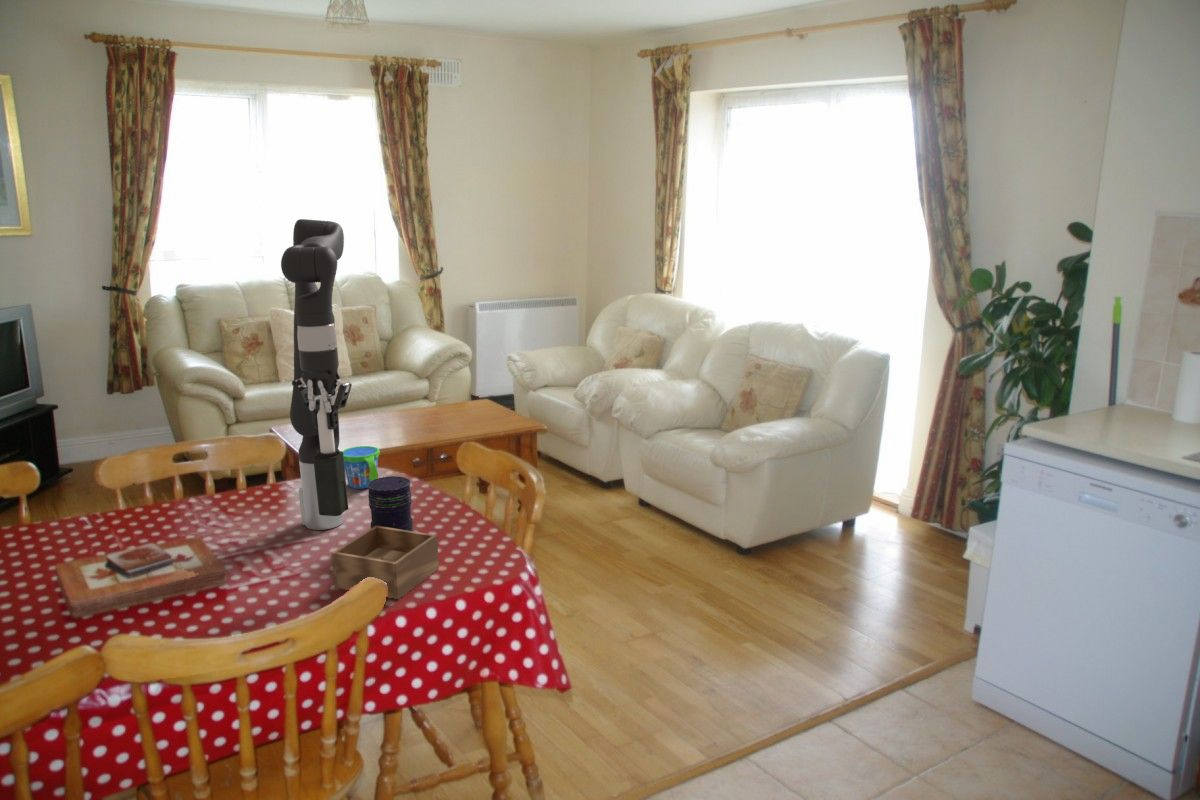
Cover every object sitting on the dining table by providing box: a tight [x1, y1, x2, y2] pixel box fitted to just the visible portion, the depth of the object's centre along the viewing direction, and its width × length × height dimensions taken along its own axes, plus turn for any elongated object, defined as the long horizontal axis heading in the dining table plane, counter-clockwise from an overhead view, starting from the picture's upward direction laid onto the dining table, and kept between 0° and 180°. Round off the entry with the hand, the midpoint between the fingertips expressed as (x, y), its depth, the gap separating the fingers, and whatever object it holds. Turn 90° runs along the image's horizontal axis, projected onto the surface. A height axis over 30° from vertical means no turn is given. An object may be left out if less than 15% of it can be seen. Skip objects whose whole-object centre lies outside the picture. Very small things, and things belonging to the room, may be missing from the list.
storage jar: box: [367, 475, 415, 532], centre depth 213 cm, size 10×10×15 cm
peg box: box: [331, 526, 440, 601], centre depth 195 cm, size 16×16×8 cm
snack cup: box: [342, 445, 381, 490], centre depth 252 cm, size 16×10×10 cm
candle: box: [313, 398, 349, 516], centre depth 188 cm, size 5×5×25 cm
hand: (325, 427), depth 187 cm, fingers closed on candle, 3 cm apart
